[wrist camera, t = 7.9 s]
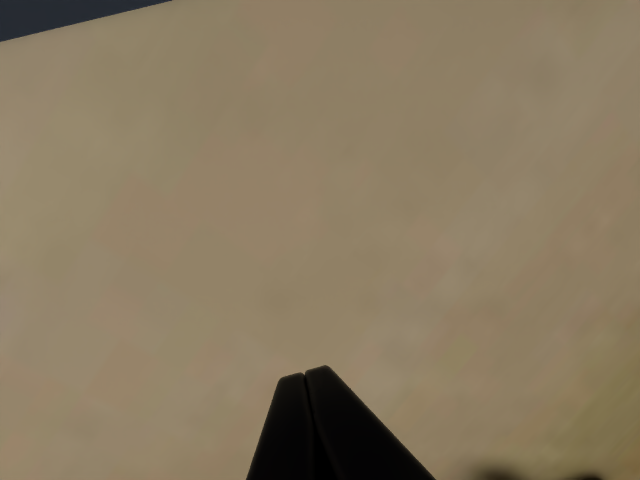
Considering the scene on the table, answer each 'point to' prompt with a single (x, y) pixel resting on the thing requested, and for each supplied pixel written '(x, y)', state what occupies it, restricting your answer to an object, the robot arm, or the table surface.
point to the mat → (57, 13)
